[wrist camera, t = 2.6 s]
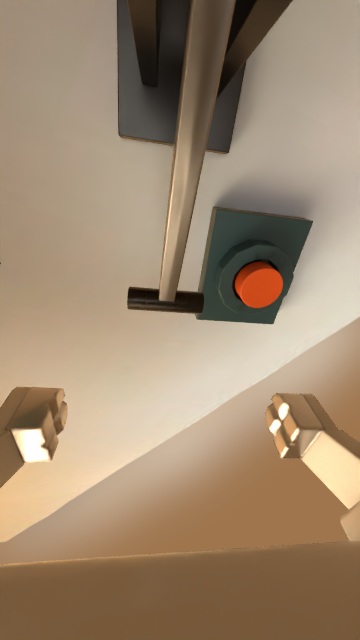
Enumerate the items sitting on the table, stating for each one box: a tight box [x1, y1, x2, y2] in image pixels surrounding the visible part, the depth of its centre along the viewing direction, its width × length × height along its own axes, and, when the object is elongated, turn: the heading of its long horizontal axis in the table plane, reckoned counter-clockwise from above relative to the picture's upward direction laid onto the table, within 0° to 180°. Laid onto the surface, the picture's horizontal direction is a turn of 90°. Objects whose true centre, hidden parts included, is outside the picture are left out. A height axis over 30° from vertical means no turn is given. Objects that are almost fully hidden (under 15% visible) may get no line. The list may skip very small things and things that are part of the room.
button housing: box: [195, 207, 313, 324], centre depth 22 cm, size 10×8×4 cm
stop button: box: [235, 262, 283, 308], centre depth 20 cm, size 4×4×2 cm
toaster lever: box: [127, 0, 236, 314], centre depth 10 cm, size 18×5×2 cm, turn 173°
